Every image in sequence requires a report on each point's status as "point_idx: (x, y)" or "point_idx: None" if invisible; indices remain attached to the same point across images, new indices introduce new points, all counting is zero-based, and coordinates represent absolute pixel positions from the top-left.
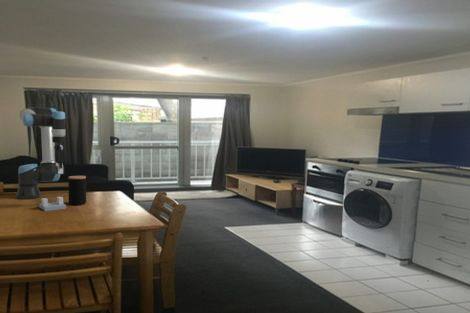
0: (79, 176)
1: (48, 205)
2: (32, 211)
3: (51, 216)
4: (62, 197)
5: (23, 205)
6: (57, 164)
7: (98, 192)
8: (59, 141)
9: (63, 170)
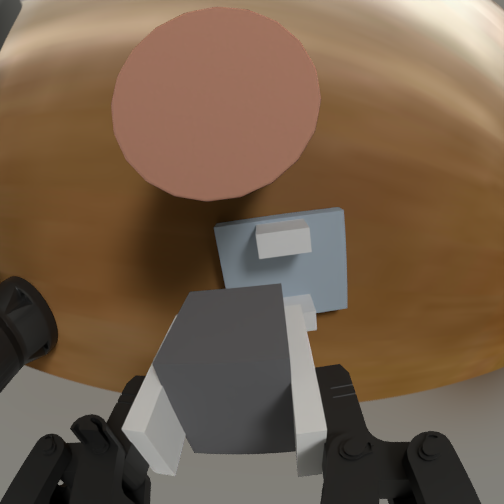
0: (192, 68)
1: (302, 290)
2: (323, 341)
3: (446, 283)
4: (294, 230)
5: None
6: (174, 440)
7: (8, 49)
8: None
9: (283, 316)
